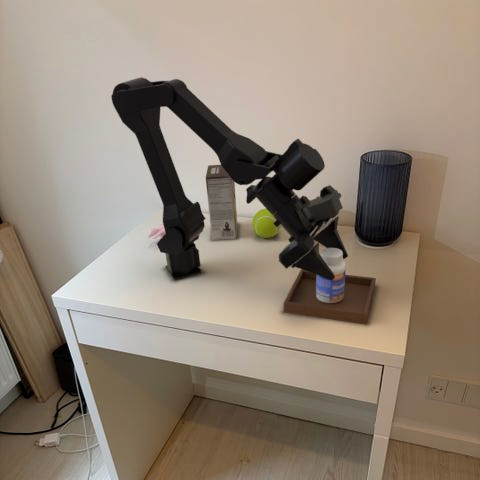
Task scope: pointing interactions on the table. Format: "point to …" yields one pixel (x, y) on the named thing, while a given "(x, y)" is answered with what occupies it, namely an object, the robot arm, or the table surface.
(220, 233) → the coffee box
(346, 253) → the robot arm
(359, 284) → the tray
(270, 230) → the tennis ball
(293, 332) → the table surface
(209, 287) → the table surface
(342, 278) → the pill bottle
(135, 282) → the table surface
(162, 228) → the rabbit figure
